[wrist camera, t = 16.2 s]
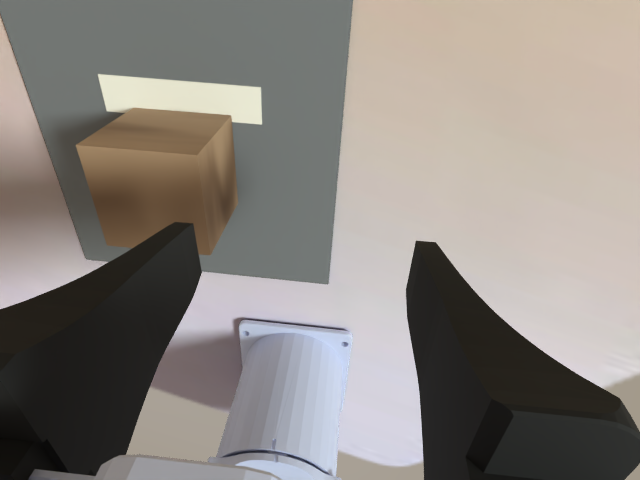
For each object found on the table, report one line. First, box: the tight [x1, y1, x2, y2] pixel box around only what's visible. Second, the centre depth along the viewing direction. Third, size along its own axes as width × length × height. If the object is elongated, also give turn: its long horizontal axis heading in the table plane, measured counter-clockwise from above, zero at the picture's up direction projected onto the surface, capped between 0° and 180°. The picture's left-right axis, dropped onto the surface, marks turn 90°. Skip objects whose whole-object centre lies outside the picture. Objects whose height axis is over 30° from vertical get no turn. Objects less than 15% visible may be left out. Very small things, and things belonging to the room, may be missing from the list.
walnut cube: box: [76, 108, 238, 255], centre depth 20 cm, size 5×5×5 cm
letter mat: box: [0, 0, 353, 284], centre depth 22 cm, size 16×16×1 cm
